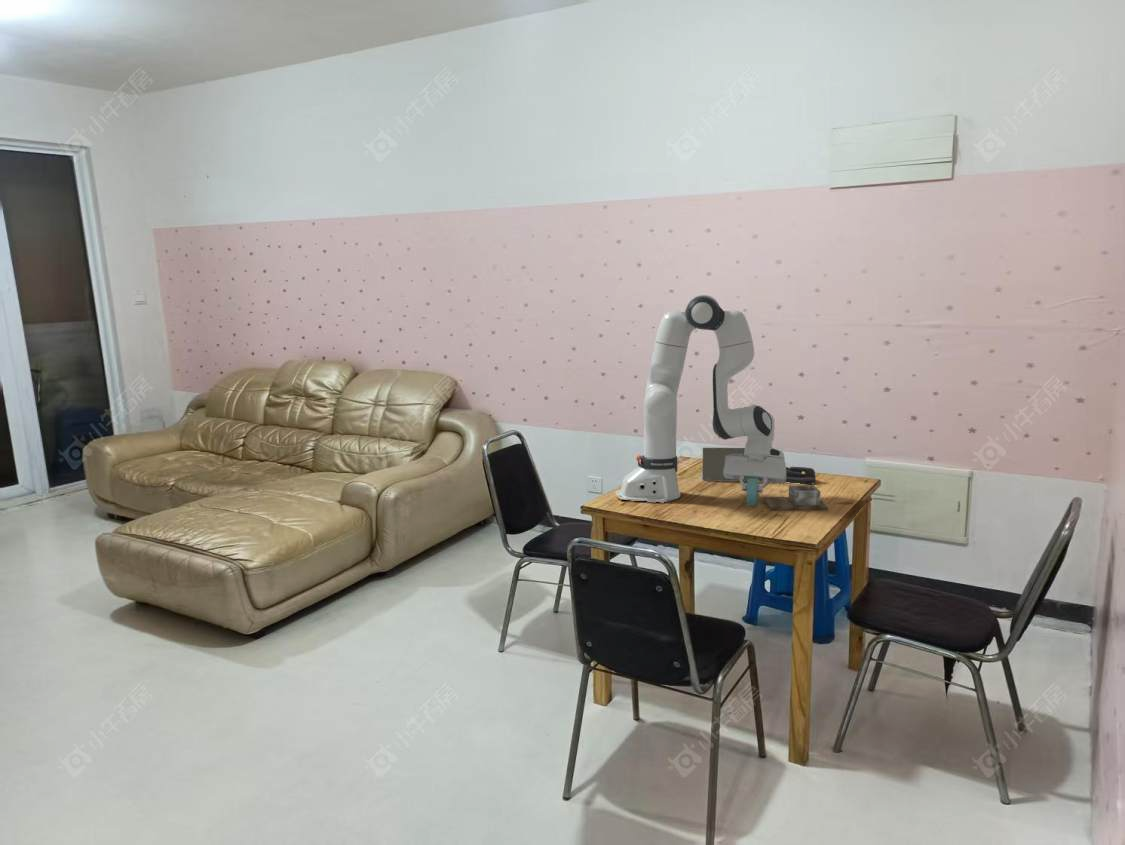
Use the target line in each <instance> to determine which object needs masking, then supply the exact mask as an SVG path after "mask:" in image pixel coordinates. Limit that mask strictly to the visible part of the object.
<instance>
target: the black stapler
mask: <svg viewBox="0 0 1125 845" xmlns="http://www.w3.org/2000/svg"><path fill="white" fill-rule="evenodd" d="M786 482H791V483H800V484H812V483H814V482H815V483H816V472H815V469H813V468H812V467H807V466H806V467H803V466H790V467H788V466H786ZM791 483H790V484H791ZM800 484H799V485H800Z"/></svg>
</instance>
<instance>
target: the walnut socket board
mask: <svg viewBox="0 0 1125 845" xmlns="http://www.w3.org/2000/svg"><path fill="white" fill-rule="evenodd" d="M762 502H764V504H765V505H766V507H767V508H769V510H770V511H773V512H774V511H775V512H777V511H778V512H781V511H782V512H783V511H793V512H795V511H798V512H799V511H829V506H828V505H827V504H826V503H825V502H824V501H822V499H821V491H820V489H818V488H817V487H816V486H815V485H814V484H813V485H800V484H794V485H793V484H791V485H788V496H763V497H762Z"/></svg>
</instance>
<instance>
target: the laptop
mask: <svg viewBox="0 0 1125 845" xmlns="http://www.w3.org/2000/svg"><path fill="white" fill-rule="evenodd" d="M744 451H745V447H703V448H702V471H701V472H700V475H701V480H702V482H737V481H740V480H737V479H726V478H725V476H724V474H723V470H724V466H725V457H726V456H727V455H729V454H731V453H734V454H744ZM745 481H747V480H745Z"/></svg>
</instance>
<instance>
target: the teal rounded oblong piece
mask: <svg viewBox="0 0 1125 845" xmlns="http://www.w3.org/2000/svg"><path fill="white" fill-rule="evenodd" d="M759 483H760V481H759V479H758V478H754V477H749V478H747V482H746V484H747V487H746V491H745V505H747V506H751V507H753V506H754V507H755V506H758V505H759V492H758V486H759V485H760V484H759Z"/></svg>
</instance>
